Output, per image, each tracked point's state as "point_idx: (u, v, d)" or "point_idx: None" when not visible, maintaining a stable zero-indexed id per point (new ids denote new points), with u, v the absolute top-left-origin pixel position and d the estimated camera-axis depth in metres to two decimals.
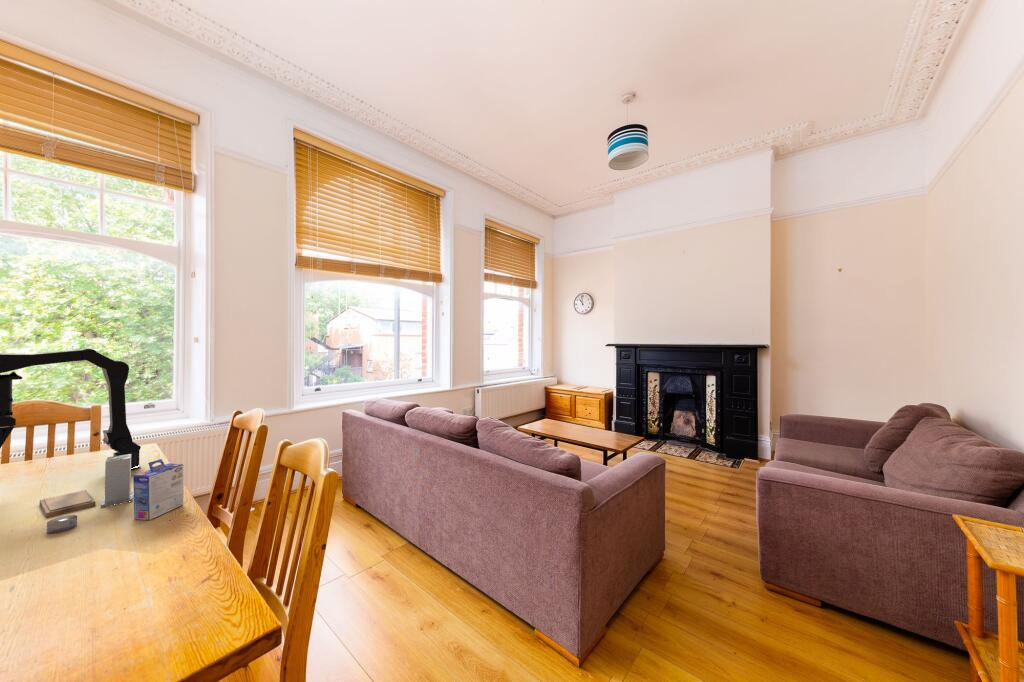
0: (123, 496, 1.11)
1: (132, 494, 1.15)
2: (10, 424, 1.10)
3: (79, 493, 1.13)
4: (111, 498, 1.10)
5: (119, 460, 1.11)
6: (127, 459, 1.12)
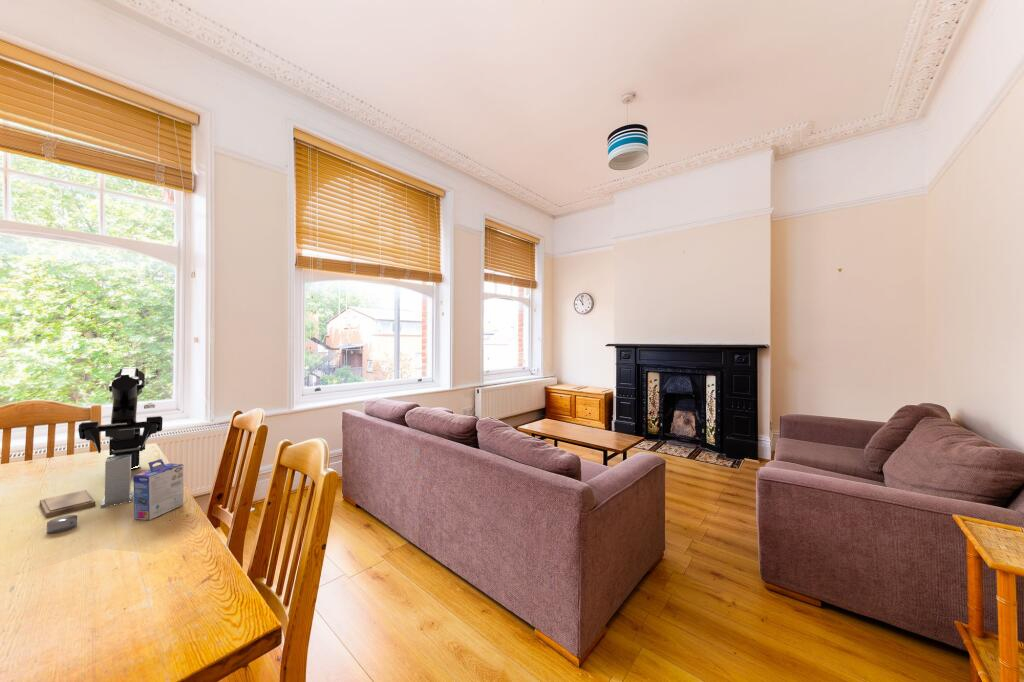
0: (123, 496, 1.11)
1: (132, 494, 1.15)
2: None
3: (79, 493, 1.13)
4: (111, 498, 1.10)
5: (119, 460, 1.11)
6: (127, 459, 1.12)
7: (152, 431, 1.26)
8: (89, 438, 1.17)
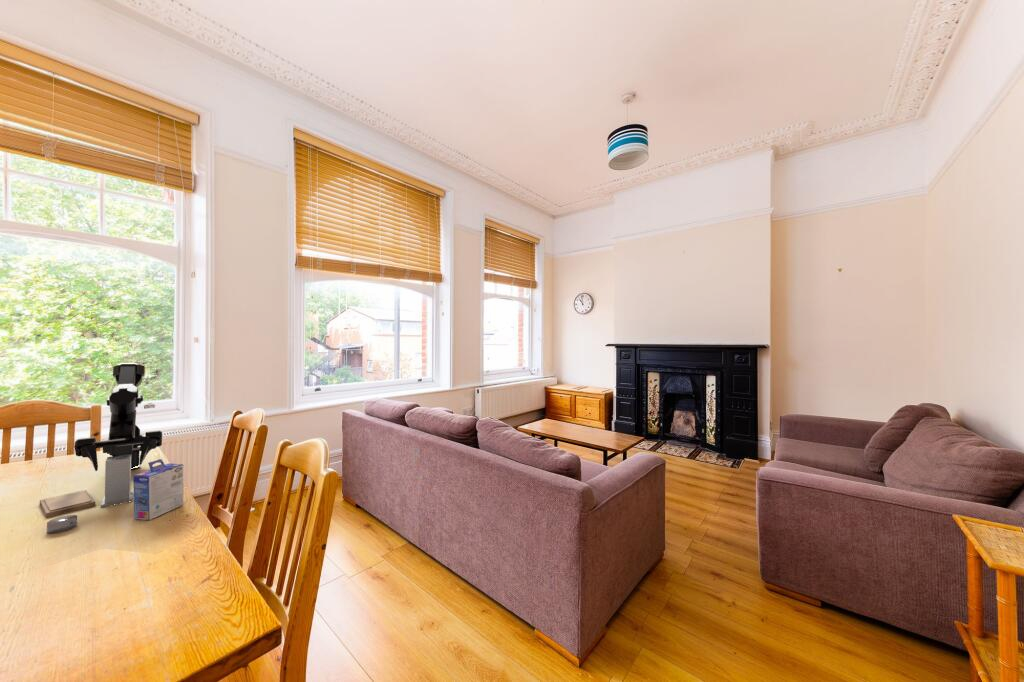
0: (123, 496, 1.11)
1: (132, 494, 1.15)
2: None
3: (79, 493, 1.13)
4: (111, 498, 1.10)
5: (119, 460, 1.11)
6: (127, 459, 1.12)
7: (151, 446, 1.22)
8: (86, 455, 1.12)
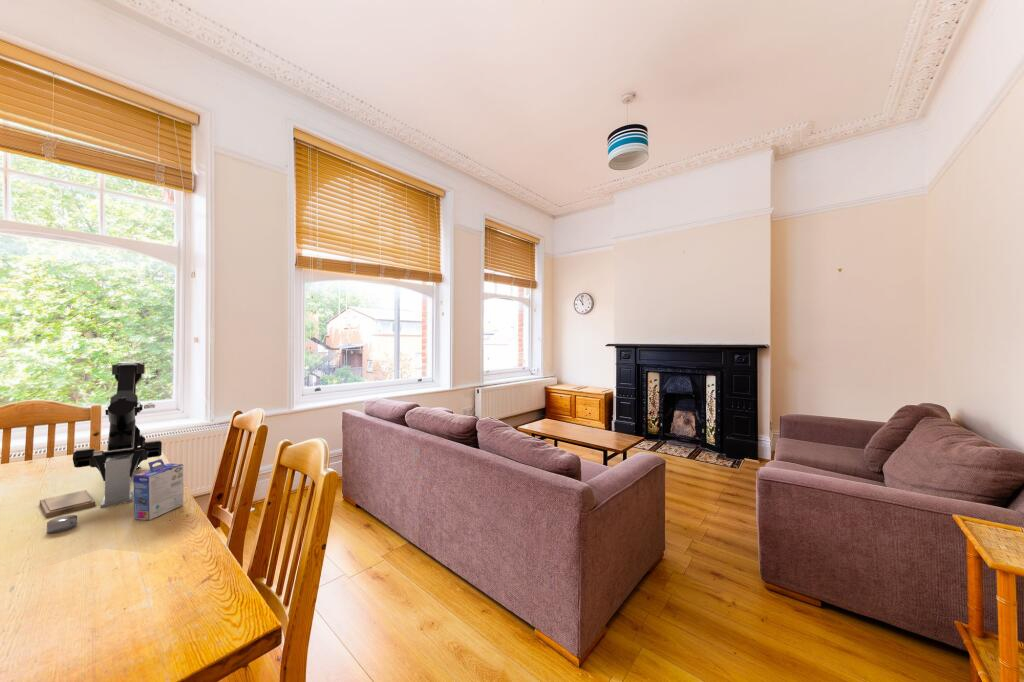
0: (123, 496, 1.11)
1: (132, 494, 1.15)
2: None
3: (79, 493, 1.13)
4: (111, 498, 1.10)
5: (119, 460, 1.11)
6: (127, 459, 1.12)
7: (142, 458, 1.19)
8: (94, 465, 1.12)
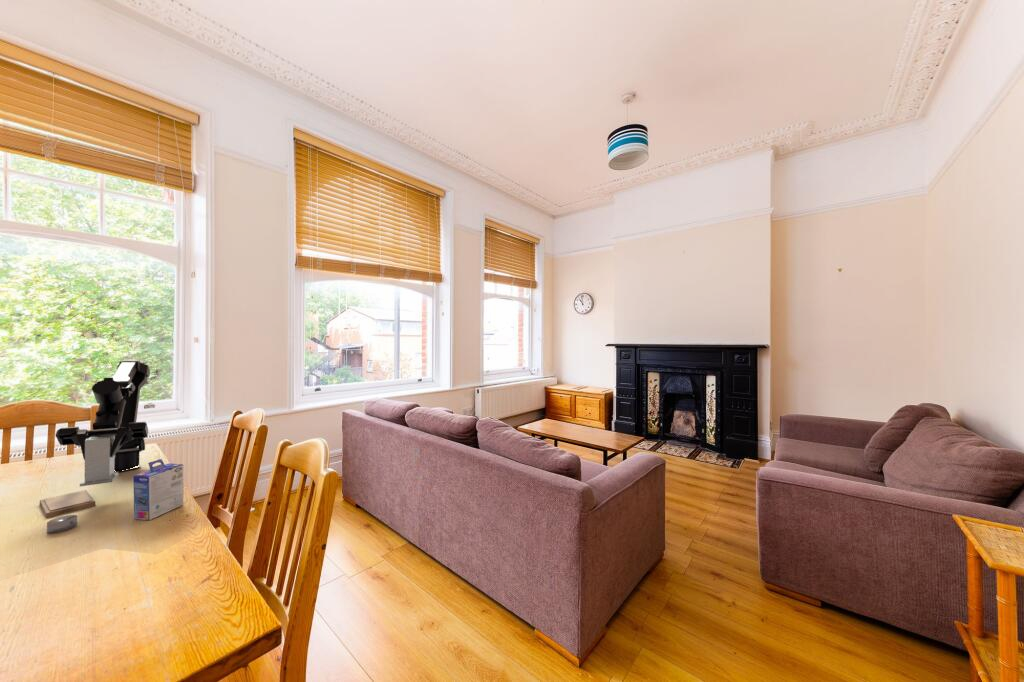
0: (103, 476, 1.10)
1: (114, 474, 1.14)
2: None
3: (79, 493, 1.13)
4: (91, 477, 1.09)
5: (99, 439, 1.10)
6: (107, 439, 1.11)
7: (127, 438, 1.18)
8: (78, 443, 1.12)
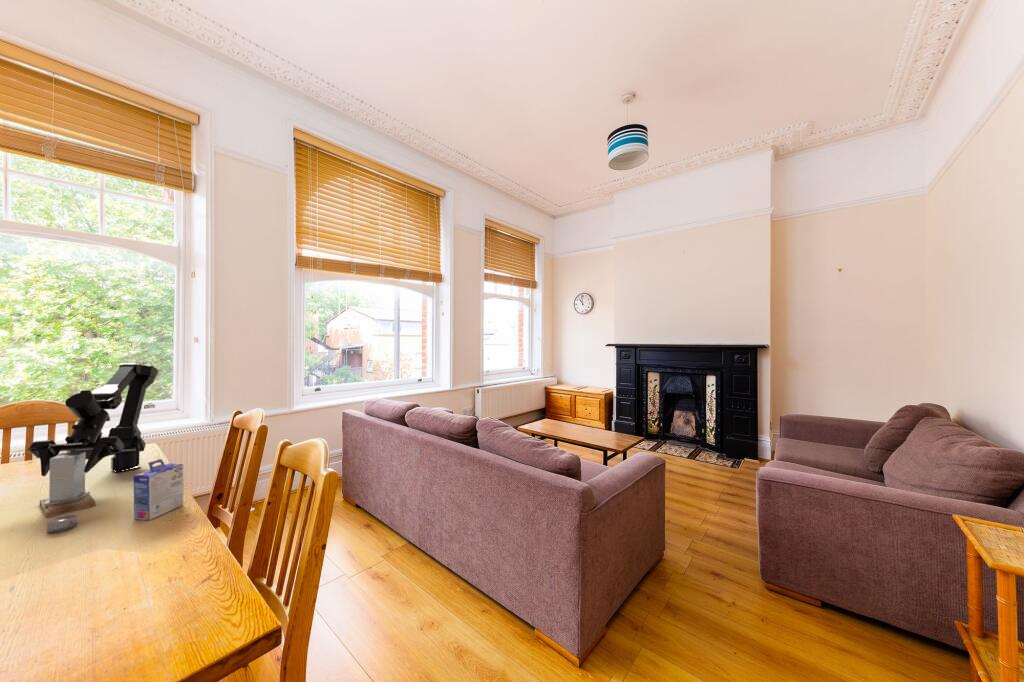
0: (68, 496, 1.07)
1: (84, 493, 1.11)
2: None
3: None
4: (56, 497, 1.06)
5: (64, 458, 1.07)
6: (72, 458, 1.07)
7: (107, 453, 1.15)
8: None
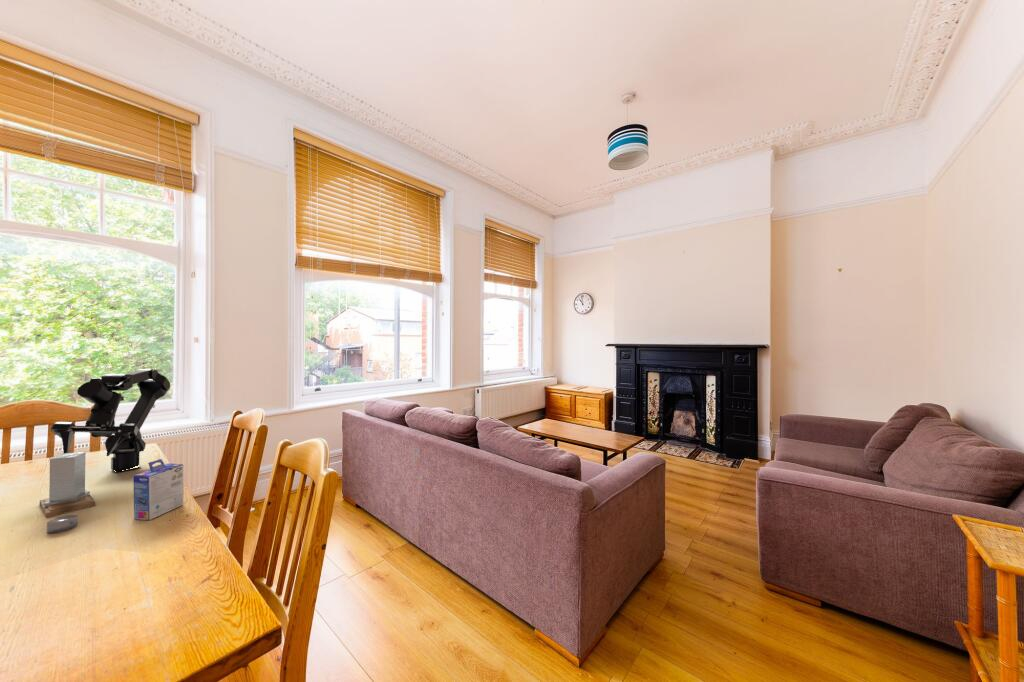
0: (68, 496, 1.07)
1: (84, 493, 1.11)
2: None
3: None
4: (56, 497, 1.06)
5: (64, 458, 1.07)
6: (72, 458, 1.07)
7: (125, 437, 1.26)
8: None
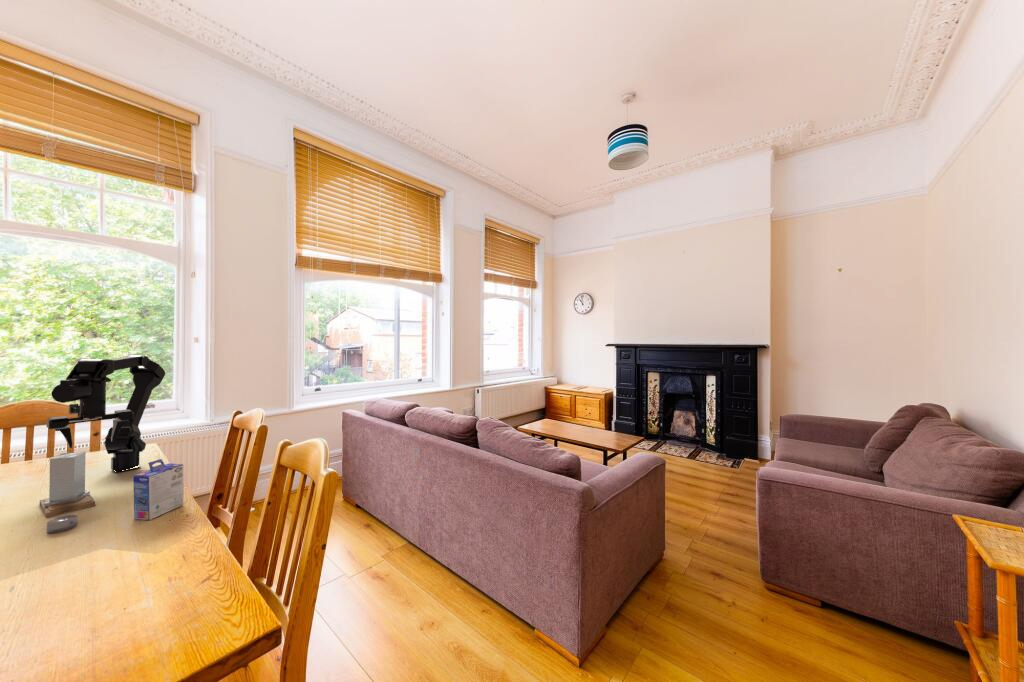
0: (68, 496, 1.07)
1: (84, 493, 1.11)
2: (48, 427, 1.14)
3: None
4: (56, 497, 1.06)
5: (64, 458, 1.07)
6: (72, 458, 1.07)
7: None
8: None
